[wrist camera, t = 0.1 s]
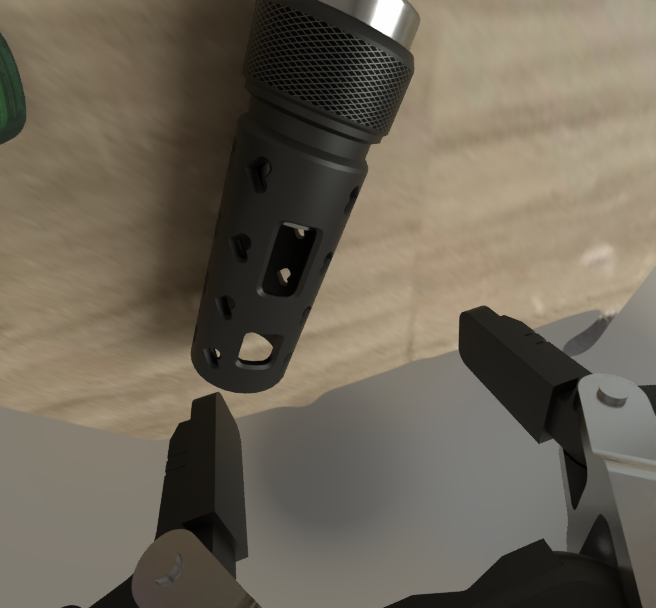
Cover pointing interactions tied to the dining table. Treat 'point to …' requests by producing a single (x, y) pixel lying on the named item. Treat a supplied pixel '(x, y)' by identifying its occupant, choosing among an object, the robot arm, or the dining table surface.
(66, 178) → the dining table surface
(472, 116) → the dining table surface
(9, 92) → the coffee jar
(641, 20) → the dining table surface
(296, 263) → the muzzle brake
